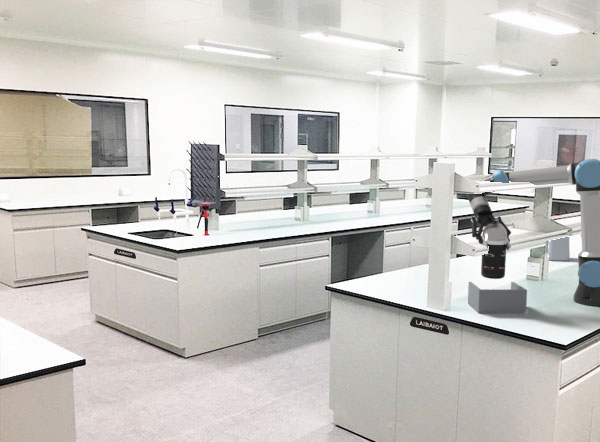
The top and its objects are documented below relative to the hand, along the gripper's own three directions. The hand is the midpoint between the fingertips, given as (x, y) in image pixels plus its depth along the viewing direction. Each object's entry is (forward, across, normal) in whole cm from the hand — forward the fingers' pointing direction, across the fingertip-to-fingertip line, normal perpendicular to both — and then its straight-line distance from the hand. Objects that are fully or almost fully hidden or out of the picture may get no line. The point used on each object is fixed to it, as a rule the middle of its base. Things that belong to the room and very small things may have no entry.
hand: (497, 248), depth 242 cm
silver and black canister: (+7, 0, -12) cm, 14 cm away
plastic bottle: (-52, -97, -90) cm, 142 cm away
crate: (+19, 0, -18) cm, 26 cm away
